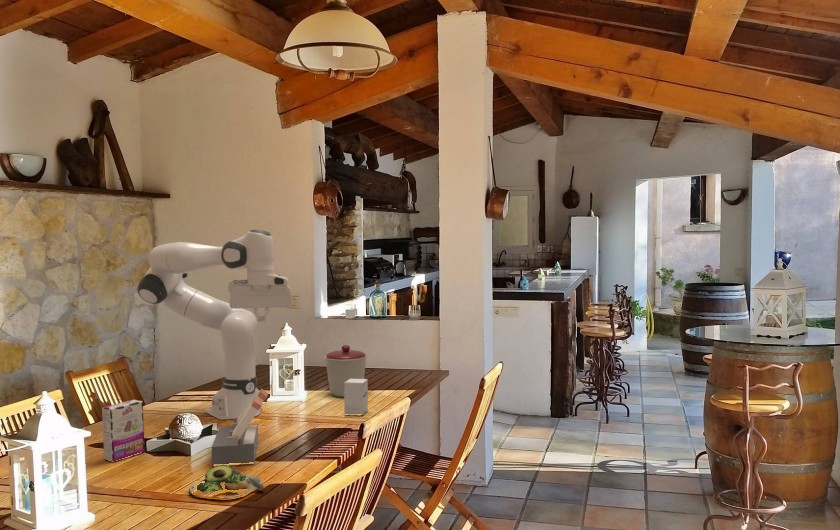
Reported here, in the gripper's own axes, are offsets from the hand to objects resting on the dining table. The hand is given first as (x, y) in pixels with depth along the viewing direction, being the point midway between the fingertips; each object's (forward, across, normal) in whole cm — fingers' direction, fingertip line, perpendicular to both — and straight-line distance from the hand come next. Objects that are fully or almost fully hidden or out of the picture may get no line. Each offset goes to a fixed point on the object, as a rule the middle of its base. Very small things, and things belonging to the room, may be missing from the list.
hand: (261, 321), depth 226 cm
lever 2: (+32, -8, -22) cm, 39 cm away
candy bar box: (+39, -41, -10) cm, 58 cm away
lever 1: (+32, -8, -7) cm, 34 cm away
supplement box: (+39, +33, +26) cm, 58 cm away
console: (+39, -8, -14) cm, 42 cm away
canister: (+39, +31, +58) cm, 77 cm away
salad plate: (+40, -8, -43) cm, 59 cm away
